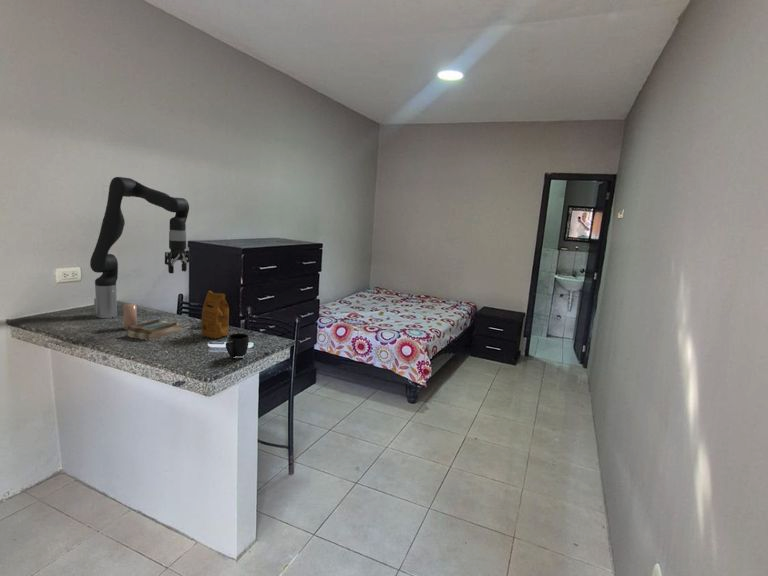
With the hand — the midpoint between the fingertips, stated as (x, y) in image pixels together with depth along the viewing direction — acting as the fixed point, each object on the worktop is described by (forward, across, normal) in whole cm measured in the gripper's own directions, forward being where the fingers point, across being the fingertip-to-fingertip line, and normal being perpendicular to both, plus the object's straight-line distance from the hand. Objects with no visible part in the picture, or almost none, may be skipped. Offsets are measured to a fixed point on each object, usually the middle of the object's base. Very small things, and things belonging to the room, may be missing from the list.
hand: (177, 272), depth 205 cm
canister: (+29, +10, -19) cm, 36 cm away
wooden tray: (+29, +10, -4) cm, 31 cm away
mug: (+29, +21, +48) cm, 60 cm away
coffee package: (+30, -1, +21) cm, 36 cm away
